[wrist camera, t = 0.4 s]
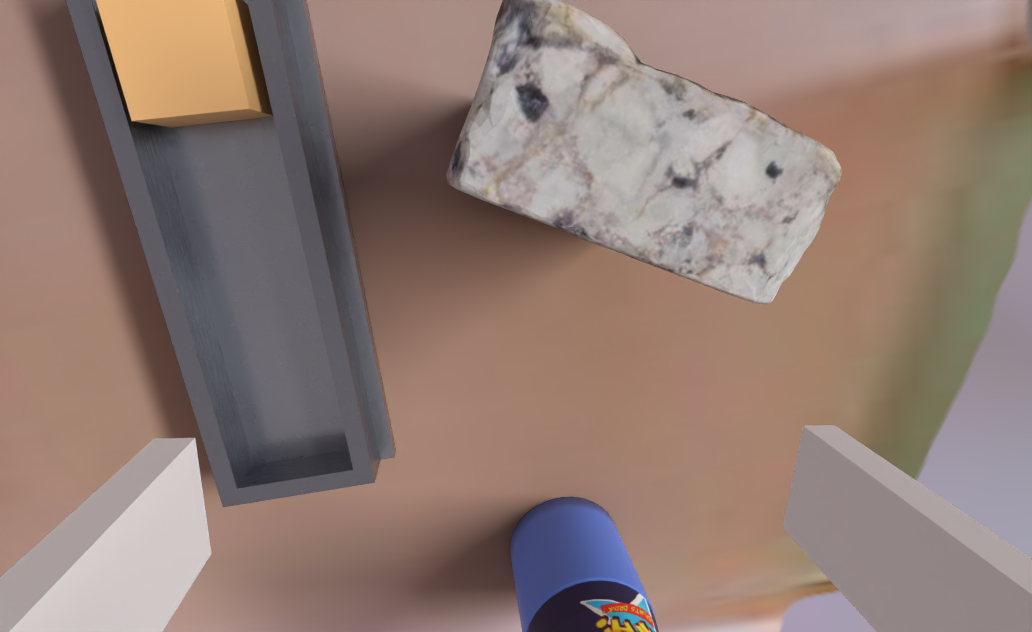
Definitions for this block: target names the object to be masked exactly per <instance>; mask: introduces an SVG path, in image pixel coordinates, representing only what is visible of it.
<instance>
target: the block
mask: <svg viewBox="0 0 1032 632" xmlns="http://www.w3.org/2000/svg"><path fill="white" fill-rule="evenodd" d="M96 2H97V6H98V9H99V12H100V16H101V19H102V23H103V26H104V29H105V33H106V36H107V39H108V43H109V46H110V49H111V53H112V56H113V60H114V63H115V66H116V70H117V73H118V76H119V80H120V83H121V87H122V90H123V93H124V97H125V100H126V103H127V107H128V110H129V114H130V117H131V120H132V121H135V122H141V123H147V124H153V125H159V126H166V127H180V126H190V125H199V124H208V123H218V122H227V121H237V120H246V119H255V118H265V117H273V112H272V108H271V103H270V99H269V95H268V90H267V86H266V81H265V77H264V72H263V68H262V64H261V59H260V55H259V50H258V46H257V41H256V37H255V33H254V28H253V24H252V19H251V15H250V11H249V6H248V4H247V3H245V2H244V1H243V0H96Z"/></svg>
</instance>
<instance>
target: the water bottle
mask: <svg viewBox="0 0 1032 632" xmlns="http://www.w3.org/2000/svg"><path fill="white" fill-rule="evenodd" d="M510 553H511V560H512V566H513V573H514V580H515V587H516V594H517V600H518V607H519V613H520V620H521V626H522V632H659V631H658V627H657V624H656V620H655V614H654V611H653V609H652V606H651V603H650V601H649V599H648V597H647V594H646V592H645V590H644V588H643V585H642V583H641V581H640V579H639V576H638V574H637V572H636V570H635V568H634V565H633V563H632V561H631V559H630V557H629V554H628V552H627V550H626V548H625V546H624V543H623V541H622V539H621V537H620V535H619V533H618V530H617V528H616V526H615V524H614V522H613V520H612V518H611V517H610V515H609V514H608V513H607V512H606V511H605V510H604V509H603V508H602V507H601V506H599V505H598V504H596V503H594V502H592V501H589V500H586V499H583V498H577V497H562V498H557V499H552V500H549V501H547V502H544V503H542V504H540V505H538V506H537V507H535V508H533V509H532V510H531V511H529V512H528V513H527V514H526V515H525V516H524V517H523V518H522V519H521V521H520V522H519V523H518V525H517V527H516V529H515V530H514V532H513V536H512V539H511V546H510Z"/></svg>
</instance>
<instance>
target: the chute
mask: <svg viewBox="0 0 1032 632" xmlns="http://www.w3.org/2000/svg"><path fill="white" fill-rule="evenodd" d="M243 1H244V2H245V3H247V4H248V6H249V11H250V15H251V19H252V24H253V28H254V33H255V37H256V41H257V46H258V50H259V55H260V59H261V64H262V68H263V72H264V77H265V81H266V86H267V90H268V95H269V99H270V103H271V108H272V112H273V117H265V118H255V119H246V120H237V121H227V122H218V123H208V124H199V125H190V126H180V127H166V126H159V125H153V124H147V123H141V122H135V121H132V120H131V117H130V114H129V110H128V107H127V103H126V100H125V97H124V93H123V90H122V87H121V83H120V80H119V76H118V73H117V70H116V66H115V63H114V60H113V56H112V53H111V49H110V46H109V43H108V39H107V36H106V33H105V29H104V26H103V23H102V19H101V16H100V12H99V9H98V6H97V2H96V0H66V3H67V6H68V9H69V13H70V16H71V19H72V22H73V25H74V29H75V32H76V35H77V38H78V41H79V45H80V48H81V51H82V54H83V58H84V61H85V64H86V67H87V70H88V74H89V77H90V80H91V83H92V87H93V90H94V93H95V96H96V99H97V103H98V106H99V109H100V112H101V116H102V119H103V122H104V125H105V128H106V132H107V135H108V138H109V141H110V145H111V148H112V151H113V154H114V157H115V161H116V164H117V167H118V170H119V173H120V177H121V180H122V183H123V186H124V190H125V193H126V196H127V199H128V202H129V206H130V209H131V212H132V215H133V219H134V222H135V225H136V228H137V231H138V235H139V238H140V241H141V244H142V248H143V251H144V254H145V257H146V260H147V264H148V267H149V270H150V273H151V277H152V280H153V283H154V286H155V289H156V293H157V296H158V299H159V302H160V305H161V309H162V312H163V315H164V318H165V322H166V325H167V328H168V331H169V334H170V338H171V341H172V344H173V347H174V351H175V354H176V357H177V360H178V363H179V367H180V370H181V373H182V376H183V380H184V383H185V386H186V389H187V392H188V396H189V399H190V402H191V405H192V408H193V412H194V415H195V418H196V421H197V425H198V428H199V431H200V434H201V437H202V441H203V444H204V447H205V450H206V454H207V457H208V460H209V463H210V466H211V470H212V473H213V476H214V479H215V483H216V486H217V489H218V492H219V495H220V499H221V502H222V505H223V507H227V506H233V505H240V504H246V503H252V502H258V501H264V500H270V499H276V498H283V497H289V496H295V495H301V494H307V493H313V492H320V491H326V490H332V489H338V488H344V487H350V486H357V485H363V484H369V483H375V479H376V475H377V472H378V468H379V464H380V460H381V459H387V458H393V457H394V456H395V452H396V449H395V444H394V439H393V434H392V429H391V424H390V419H389V414H388V409H387V404H386V399H385V394H384V389H383V383H382V378H381V373H380V368H379V363H378V358H377V353H376V348H375V343H374V338H373V333H372V328H371V323H370V318H369V313H368V308H367V303H366V298H365V293H364V288H363V283H362V278H361V273H360V268H359V262H358V257H357V252H356V247H355V242H354V237H353V232H352V227H351V222H350V217H349V212H348V207H347V202H346V197H345V192H344V187H343V182H342V177H341V172H340V167H339V162H338V157H337V152H336V147H335V141H334V136H333V131H332V126H331V121H330V116H329V111H328V106H327V101H326V96H325V91H324V86H323V81H322V76H321V71H320V66H319V61H318V56H317V51H316V46H315V41H314V36H313V31H312V26H311V20H310V15H309V10H308V5H307V0H243Z"/></svg>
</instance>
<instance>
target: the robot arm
mask: <svg viewBox="0 0 1032 632" xmlns="http://www.w3.org/2000/svg"><path fill="white" fill-rule="evenodd" d="M783 529H784V530H785V531H786V533H787V534H788V535H789V536H790V537H791V538H792V539H793V540H794V541H795V542H796V544H797V545H798V546H799V547H800V548H801V549H802V550H803V551H804V552H805V553H806V555H807V556H808V557H809V558H810V559H811V560H812V561H813V562H814V563H815V564H816V565H817V567H818V568H819V569H820V570H821V571H822V572H823V573H824V574H825V575H826V576H827V578H828V579H829V580H830V581H831V582H832V583H833V584H834V585H835V586H836V587H837V589H838V590H839V591H840V592H841V593H842V594H843V595H844V596H845V597H846V598H847V599H848V601H849V602H850V603H851V604H852V605H853V606H854V607H855V608H856V609H857V610H858V611H859V613H860V614H861V615H862V616H863V617H864V618H865V619H866V620H867V621H868V623H869V624H870V625H871V626H872V627H873V628H874V629H875V630H876V631H877V632H1032V559H1031V558H1029V557H1028V556H1027V555H1025V554H1024V553H1022V552H1021V551H1019V550H1017V549H1016V548H1015V547H1013V546H1012V545H1010V544H1009V543H1007V542H1006V541H1004V540H1003V539H1001V538H1000V537H998V536H997V535H996V534H994V533H992V532H991V531H989V530H988V529H987V528H985V527H984V526H982V525H981V524H979V523H978V522H976V521H975V520H973V519H972V518H970V517H969V516H967V515H966V514H965V513H963V512H962V511H960V510H959V509H957V508H956V507H954V506H952V505H951V504H950V503H948V502H947V501H945V500H944V499H942V498H941V497H939V496H938V495H936V494H935V493H933V492H932V491H930V490H929V489H927V488H926V487H925V486H923V485H922V484H920V483H919V482H917V481H916V480H914V479H913V478H911V477H910V476H908V475H907V474H905V473H904V472H903V471H901V470H900V469H898V468H897V467H895V466H894V465H892V464H891V463H889V462H888V461H886V460H885V459H883V458H882V457H880V456H879V455H877V454H876V453H874V452H873V451H872V450H870V449H869V448H867V447H866V446H864V445H863V444H861V443H860V442H858V441H857V440H855V439H854V438H852V437H851V436H849V435H848V434H846V433H845V432H843V431H842V430H841V429H839V428H838V427H836V426H835V425H821V426H803V431H802V436H801V441H800V446H799V451H798V455H797V460H796V465H795V470H794V475H793V480H792V485H791V489H790V494H789V499H788V504H787V509H786V514H785V519H784V523H783ZM210 555H211V548H210V541H209V533H208V526H207V519H206V512H205V505H204V498H203V490H202V483H201V476H200V469H199V462H198V454H197V447H196V440H195V438H157V439H153V440H152V441H151V442H150V443H149V444H147V445H146V446H145V447H144V448H143V449H142V450H141V451H140V452H139V453H137V454H136V455H135V456H134V457H133V458H132V459H131V460H130V461H129V462H127V463H126V464H125V465H124V466H123V467H122V468H121V469H120V470H119V471H118V472H116V473H115V474H114V475H113V476H112V477H111V478H110V479H109V480H108V481H106V482H105V483H104V484H103V485H102V486H101V487H100V488H99V489H98V490H96V491H95V492H94V493H93V494H92V495H91V496H90V497H89V498H88V499H87V500H85V501H84V502H83V503H82V504H81V505H80V506H79V507H78V508H77V509H75V510H74V511H73V512H72V513H71V514H70V515H69V516H68V517H67V518H65V519H64V520H63V521H62V522H61V523H60V524H59V525H58V526H57V527H55V528H54V529H53V530H52V531H51V532H50V533H49V534H48V535H47V536H46V537H44V538H43V539H42V540H41V541H40V542H39V543H38V544H37V545H36V546H34V547H33V548H32V549H31V550H30V551H29V552H28V553H27V554H26V555H24V556H23V557H22V558H21V559H20V560H19V561H18V562H17V563H16V564H15V565H13V566H12V567H11V568H10V569H9V570H8V571H7V572H6V573H5V574H3V575H2V576H1V577H0V632H162V631H163V630H164V628H165V627H166V625H167V623H168V622H169V620H170V619H171V617H172V615H173V614H174V612H175V611H176V609H177V607H178V606H179V604H180V603H181V601H182V599H183V598H184V596H185V595H186V593H187V592H188V590H189V588H190V587H191V585H192V584H193V582H194V580H195V579H196V577H197V576H198V574H199V572H200V571H201V569H202V568H203V566H204V564H205V563H206V561H207V560H208V558H209V557H210Z"/></svg>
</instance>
